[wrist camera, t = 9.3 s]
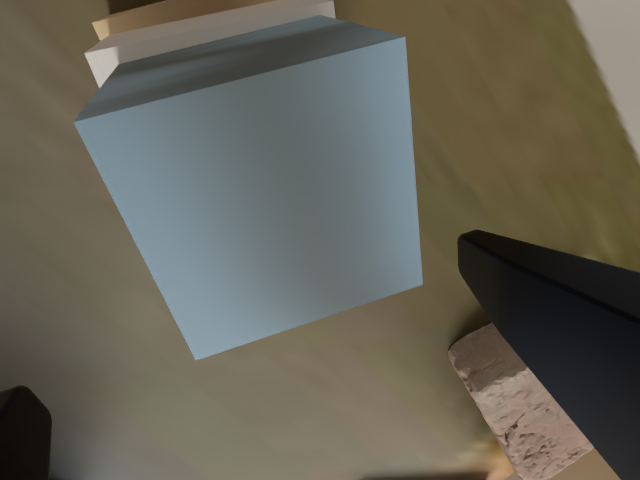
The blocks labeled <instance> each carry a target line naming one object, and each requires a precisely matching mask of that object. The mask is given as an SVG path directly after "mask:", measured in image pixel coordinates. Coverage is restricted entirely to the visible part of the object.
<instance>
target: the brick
mask: <svg viewBox="0 0 640 480" xmlns="http://www.w3.org/2000/svg"><path fill="white" fill-rule="evenodd" d="M448 353H449V359H450V361H451V362H452V365H453V367H454V369H455V370H456V372H457V373H458V375H459V376H460V378H461V379H462V380H463V382H464V385H465V386H466V388H467V390H468V391H469V394H470V395H471V397H472V398H473V399H474V401H475V403H476V405H477V406H478V408H479V409H480V411H481V413H482V415H483V417H484V419H485V420H486V422H487V423H488V425H489V427H490V429H491V431H492V432H493V434H494V435H495V437H496V439H497V441H498V443H499V445H500V446H501V448H502V450H503V451H504V453H505V455H506V456H507V458H508V460H509V461H510V463H511V465H512V466H513V468H514V470H515V472H516V473H517V474H518V476H519V478H520V479H521V480H546V479H548V478H551V477H553V476H554V475H556V474H557V473H558V472H560V471H561V470H563V469H565V468H566V467H567V465H570V464H572V463H573V462H576V461H577V460H578V459H579V458H580V457H581V456H582V455H584V454H585V453H588V452H590V451H591V450H592V449H593V448H594V447H593V445H592V444H591V443H590V442H589V440H588V439H587V438H586V437H585V436H584V434H583V433H582V432H581V431H580V430H579V428H578V427H577V426H576V425H575V424H574V422H573V421H572V420H571V419H570V418H569V416H568V415H567V414H566V413H565V412H564V410H563V409H562V408H561V407H560V406H559V404H558V403H557V402H556V401H555V400H554V398H553V397H552V396H551V395H550V393H549V392H548V391H547V390H546V389H545V387H544V386H543V385H542V384H541V383H540V381H539V380H538V379H537V378H536V377H535V375H534V374H533V373H532V372H531V371H530V369H529V368H528V367H527V366H526V365H525V363H524V362H523V361H522V360H521V359H520V357H519V356H518V355H517V354H516V352H515V351H514V350H513V349H512V348H511V346H510V345H509V344H508V343H507V342H506V340H505V339H504V338H503V337H502V335H501V334H500V333H499V332H498V330H497V329H496V327H495V326H494V324H493V323H492V322H491V323H490V324H488V325H487V326H483V327H482V328H480V329H478V330H476V331H474V332H471V333H469V334H468V335H466V336H465V337H463V338H462V339H460V340H459V341H457V342H456V343H455V344H453V345H452V346H451V347H450V349H449V350H448Z"/></svg>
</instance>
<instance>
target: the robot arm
mask: <svg viewBox="0 0 640 480" xmlns="http://www.w3.org/2000/svg"><path fill="white" fill-rule="evenodd" d="M457 244H458V267H459V271H460V274H461V276H462V277H463V279H464V280H465V282H466V283H467V285H468V286H469V288H470V290H471V291H472V293H473V294H474V296H475V297H476V299H477V300H478V302H479V303H480V305H481V306H482V308H483V309H484V311H485V312H486V314H487V315H488V317H489V319H490V320H491V322H492V323H493V324H494V326H495V327H496V329H497V330H498V332H499V333H500V334H501V335H502V337H503V338H504V339H505V340H506V342H507V343H508V344H509V345H510V346H511V348H512V349H513V350H514V351H515V352H516V354H517V355H518V356H519V357H520V359H521V360H522V361H523V362H524V363H525V365H526V366H527V367H528V368H529V369H530V371H531V372H532V373H533V374H534V375H535V377H536V378H537V379H538V380H539V381H540V383H541V384H542V385H543V386H544V387H545V389H546V390H547V391H548V392H549V393H550V395H551V396H552V397H553V398H554V400H555V401H556V402H557V403H558V404H559V406H560V407H561V408H562V409H563V410H564V412H565V413H566V414H567V415H568V416H569V418H570V419H571V420H572V421H573V422H574V424H575V425H576V426H577V427H578V428H579V430H580V431H581V432H582V433H583V434H584V436H585V437H586V438H587V439H588V440H589V442H590V443H591V444H592V445H593V447H594V448H595V449H596V450H597V451H598V453H599V454H600V455H601V456H602V457H603V459H604V460H605V461H606V462H607V463H608V465H609V466H610V467H611V468H612V469H613V471H614V472H615V473H616V474H617V475H618V477H619V478H620V479H621V480H640V272H636V271H633V270H629V269H625V268H621V267H617V266H614V265H610V264H606V263H602V262H598V261H595V260H591V259H587V258H583V257H580V256H576V255H572V254H568V253H564V252H561V251H557V250H553V249H549V248H546V247H542V246H538V245H534V244H530V243H527V242H523V241H519V240H515V239H511V238H508V237H504V236H500V235H496V234H493V233H489V232H485V231H481V230H473V231H470V232H467V233H464V234H461V235H460V236H459V237H458V242H457ZM51 430H52V419H51V415H50V412H49V410H48V409H47V408H46V407H45V406H44V404H43V403H42V402H41V401H40V400H39V399H38V398H37V397H36V395H35V394H34V393H33V392H32V391H31V390H30V389H29V388H28V387H26V386H24V385H19V386H16V387H13V388H10V389H7V390H4V391H2V392H0V480H49V467H50V448H51Z"/></svg>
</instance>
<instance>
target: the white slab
mask: <svg viewBox="0 0 640 480" xmlns="http://www.w3.org/2000/svg"><path fill="white" fill-rule="evenodd" d="M318 15H323V16H327V17H331V18H334V19H336V17H335V10H334V2H333V1H332V0H276V1H271V2H266V3H261V4H256V5H251V6H247V7H242V8H237V9H232V10H227V11H222V12H218V13H213V14H208V15H203V16H198V17H193V18H188V19H184V20H179V21H174V22H169V23H164V24H159V25H155V26H150V27H145V28H140V29H135V30H130V31H126V32H121V33H116V34H111V35H109V36H107V37H106V38H104V39H103V40H102V41H100V42H99V43H98V44H96V45H95V46H94V47H92V48H91V49H89V50H88V51H87V52H85V53H84V54H85V56H86V58H87V61H88V63H89V65H90V67H91V70H92V72H93V74H94V77H95V79H96V81H97V84H98V86H99V88H100V87H101V86H102V85H103V83H104V82H105V81H106V80H107V78H108V77H109V76H110V74H111V73H112V72H113V71H114V69H115V68H116V67H117V65H118V64H121V63H126V62H130V61H134V60H138V59H142V58H146V57H150V56H154V55H158V54H162V53H166V52H170V51H175V50H179V49H183V48H187V47H191V46H195V45H199V44H203V43H207V42H211V41H215V40H220V39H224V38H228V37H232V36H236V35H240V34H244V33H248V32H252V31H256V30H260V29H264V28H269V27H273V26H277V25H281V24H285V23H289V22H293V21H297V20H301V19H305V18H309V17H314V16H318Z"/></svg>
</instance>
